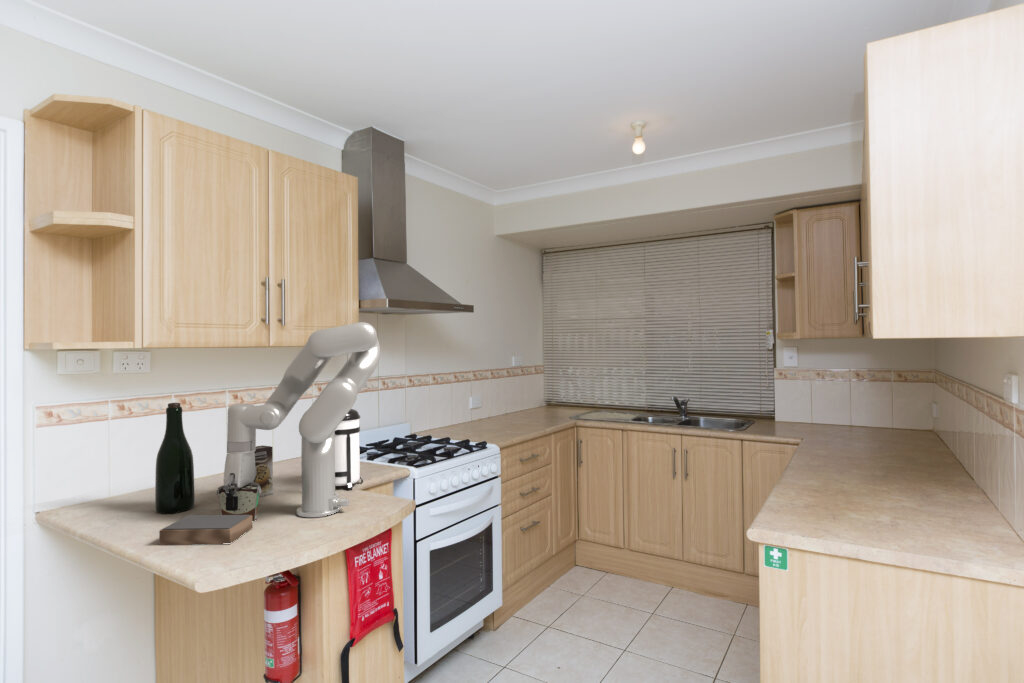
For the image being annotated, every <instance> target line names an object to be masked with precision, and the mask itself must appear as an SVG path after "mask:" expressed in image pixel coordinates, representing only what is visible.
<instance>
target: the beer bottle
mask: <svg viewBox="0 0 1024 683" xmlns="http://www.w3.org/2000/svg"><path fill="white" fill-rule="evenodd" d="M183 411H184V410H183V407H182V406H181V402H170V403H168V404H167V407H166V409H165V414H166V415H165V416H166V418H165V419H166V421H165V431H164V436H163V438H162V441H161V444H160V446H159V450H158V451H157V454H156V459H155V476H154V477H155V480H154V481H155V482H154V483H155V487H154V488H155V489H154V492H155V493H154V497H155V498H154V501H155V503H154V505H155V506H154V507H155V511H156V512H157V513H159V514H165V513H167V514H177V513H181V511H182V512H185V510H186V511H188V509H189V510H191V509H192V508H194V506H195V505H196V504H195V503H196V502H195V501H196V498H195V497H196V495H195V494H196V493H195V492H196V490H195V470H194V469H195V468H194V467H195V464H194V455H193V452H192V449H191V448H192V447H191V446H190V443H189V442H188V439H187V437H186V434H185V431H184V430H185V429H184V426H183V425H184V423H183ZM176 512H177V513H176Z"/></svg>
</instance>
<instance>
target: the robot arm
mask: <svg viewBox="0 0 1024 683" xmlns="http://www.w3.org/2000/svg"><path fill="white" fill-rule="evenodd" d="M349 354H350V356H349V358H348V359H347V360H346V362H345V363H344V365H343V366H342V368H341V369H339V372H338V373H337V374H335V376H334V377H333V379H331V380H330V381H329V382H328V383H327V384H326V385H325V387H324V388H323V389H322V391H321V393H319V395H318V397H317V398H316V399H315V400H314V401H313V402H312V404H311V406H310V407H309V408H308V409H307V410H306V411H305V412H304V413H303V414H302V416H301V418H300V420H299V422H298V432H299V435H300V437H301V448H300V449H301V457H300V458H301V460H300V461H301V462H300V463H301V506H299V507H297V509H296V515H297V516H299V517H303V518H322V517H326V516H327V515H328V516H331V514H332V515H334V513H335V514H336V512H337V513H338V512H340V511H341V509H342V507H349V506H350V505H349V504H350V500H349V499H348V498H347V497H346V498H340V497H339V493H336V486H335V429H336V428H337V427H338V425H339V424H340V423H341V421H342V420H343V419H344V417H345V416H346V415H347V414H348V412H349V411H350V410H351V409H353V407H354V405H355V403H356V401H357V398H358V394H360V392H361V390H362V389H363V388H364V386H365V385H366V384H367V382H368V380H369V379H370V378H371V377H372V374H373V373H374V372H375V370H376V369H377V367H378V364H379V362H380V358H381V345H380V342H379V339H378V333H377V330H376V328H375V327H374V326H373V325H372V324H370V323H368V322H364V321H360V322H354V323H350V324H345V325H339V326H335V327H330V328H323V329H317V330H316V331H313V332H312V333H311V334H310V336H309V337H308V339H307V341H306V343H305V344H304V345H303V347H302V349H301V350H300V351H299V352H298V354H297V355H296V356H295V358H294V359H293V360H292V361H291V363H290V364H289V365H288V367H287V368H286V370H285V372H284V374H283V377H282V379H281V380H280V382H279V383H278V385H277V387H276V388H275V390H274V391H273V392H272V393H271V394H270V396H269V398H267V400H266V402H265V403H264V404H260V405H254V404H252V403H236V404H232V405H229V407H228V408H227V423H226V424H227V426H226V427H227V429H226V430H227V432H226V434H227V435H226V437H227V438H226V456H225V462H224V470H223V485H222V486H223V487H224V493H225V497H226V511H237V510H238V496H237V493H238V490H239V488H242V487H244V486H246V485H248V484H250V483H251V482H253V483H255V480H256V473H257V470H255V453H254V452H255V451H256V446H257V445H256V443H257V442H256V441H257V440H256V438H257V430H264V431H271V430H275V429H277V428H278V427H279V426H280V425H281V424H282V423H283V421H284V420H285V419H286V418H287V416H288V415H289V414H290V412H291V411H292V410H293V408H294V407H295V405H296V404H297V403H298V402H299V400H300V398H301V397H302V396H303V395H304V394H305V393H306V392H307V391H308V390H309V389H310V388H311V386H312V385H313V384H314V382H315V381H316V380H317V378H318V377H319V375H320V374H321V373H322V371H323V370H324V368H325V367H326V366H327V365H328V363H329V361H331V359H332V358H335V357H341V356H345V355H349ZM232 489H235V490H234V491H233V490H232ZM339 510H340V511H339Z"/></svg>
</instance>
